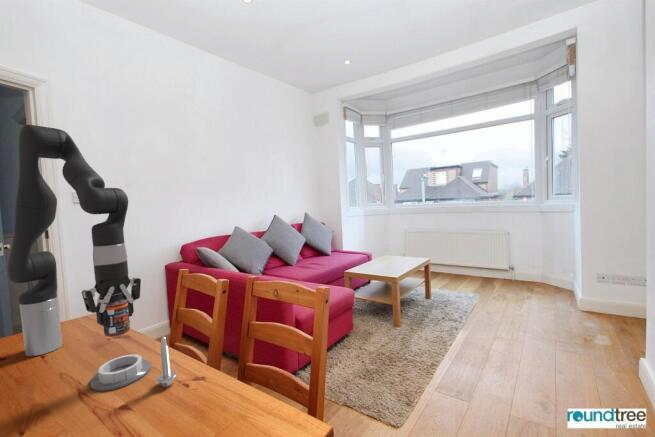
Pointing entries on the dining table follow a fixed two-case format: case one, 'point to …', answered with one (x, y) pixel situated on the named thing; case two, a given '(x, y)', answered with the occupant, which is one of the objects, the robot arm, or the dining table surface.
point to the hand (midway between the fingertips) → (116, 320)
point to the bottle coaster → (123, 383)
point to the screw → (165, 366)
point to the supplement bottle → (117, 316)
